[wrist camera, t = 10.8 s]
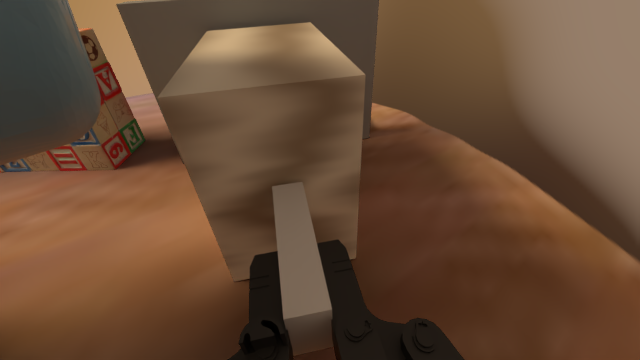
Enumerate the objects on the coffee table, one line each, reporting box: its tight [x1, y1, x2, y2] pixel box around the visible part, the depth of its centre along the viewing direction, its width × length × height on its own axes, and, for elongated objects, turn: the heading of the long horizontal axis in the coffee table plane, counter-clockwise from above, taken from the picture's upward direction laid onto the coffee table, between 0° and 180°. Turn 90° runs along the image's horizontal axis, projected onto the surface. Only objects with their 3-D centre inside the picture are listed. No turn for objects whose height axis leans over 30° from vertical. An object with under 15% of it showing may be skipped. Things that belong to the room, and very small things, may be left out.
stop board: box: [117, 0, 379, 164], centre depth 28 cm, size 20×5×14 cm, turn 101°
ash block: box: [157, 22, 366, 282], centre depth 20 cm, size 8×14×12 cm, turn 11°
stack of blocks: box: [0, 28, 145, 172], centre depth 28 cm, size 21×6×12 cm, turn 89°
